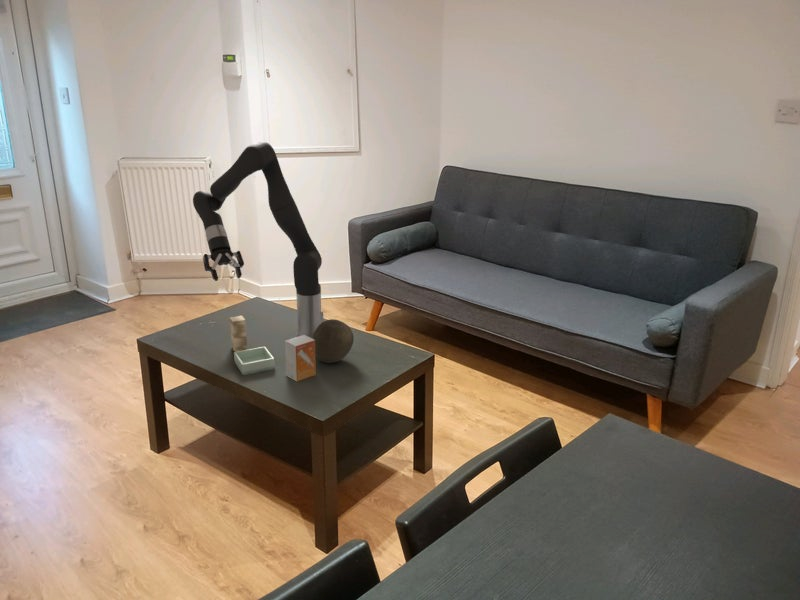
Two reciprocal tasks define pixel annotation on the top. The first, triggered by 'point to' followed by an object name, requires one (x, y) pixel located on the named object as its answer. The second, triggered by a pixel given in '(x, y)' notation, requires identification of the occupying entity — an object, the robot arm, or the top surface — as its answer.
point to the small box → (300, 357)
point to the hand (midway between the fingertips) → (228, 278)
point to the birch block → (238, 333)
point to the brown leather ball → (332, 340)
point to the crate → (254, 360)
